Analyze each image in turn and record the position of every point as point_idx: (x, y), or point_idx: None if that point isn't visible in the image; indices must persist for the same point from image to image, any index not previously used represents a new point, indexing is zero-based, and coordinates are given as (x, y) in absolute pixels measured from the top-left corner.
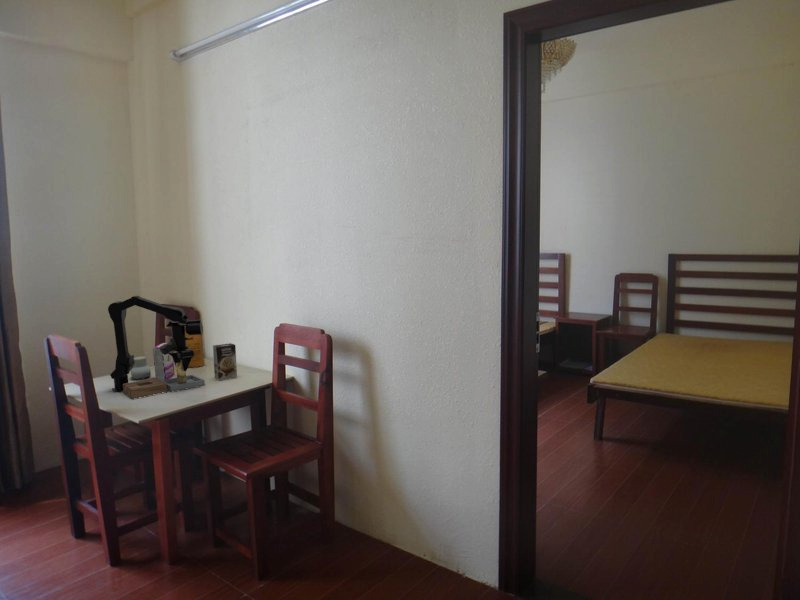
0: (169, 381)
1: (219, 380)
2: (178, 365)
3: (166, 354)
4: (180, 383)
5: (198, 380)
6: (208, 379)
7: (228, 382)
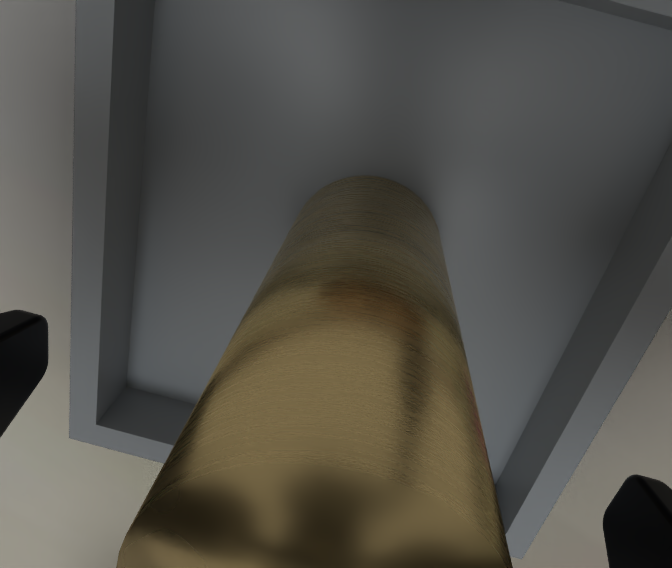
0: (667, 190)
1: None
2: (226, 421)
3: None
4: (316, 198)
5: None
6: None
7: (18, 546)
